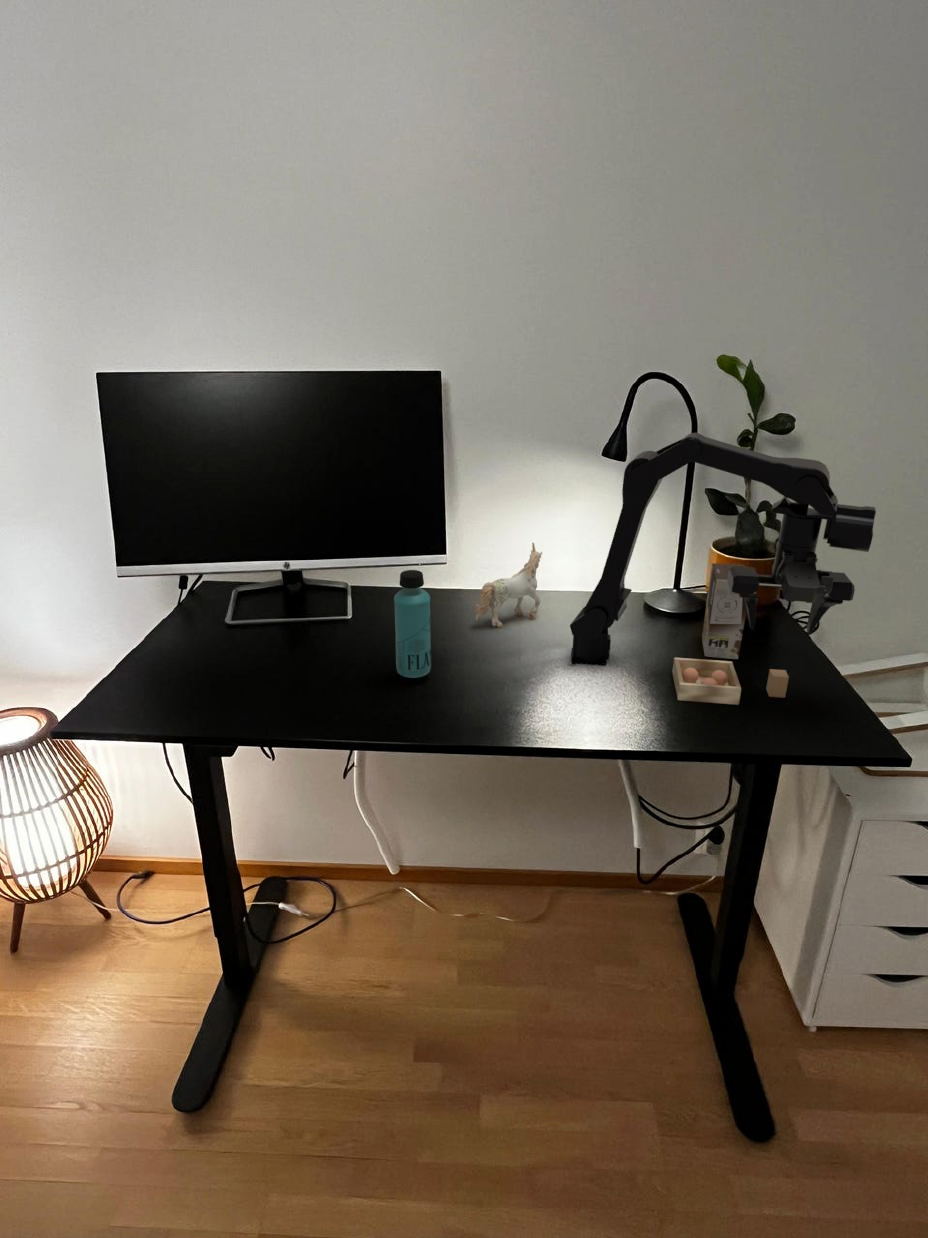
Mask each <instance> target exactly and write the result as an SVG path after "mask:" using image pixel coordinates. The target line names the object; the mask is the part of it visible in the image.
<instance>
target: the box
mask: <svg viewBox="0 0 928 1238" xmlns="http://www.w3.org/2000/svg"><path fill="white" fill-rule="evenodd" d="M687 668H694V669H695V670H697V672H698V675H699V677H698V680H697V681H696V682H695V683H686V682H685V681H684V680H683V677H682V673H683V671H684V670H685V669H687ZM717 670H721V671H724V672H725V673H726V674H727V677H728V680H727V682H726V684H725V685H723V686H722V685H708V684H701V682H702V681H703V680H704V679H706V678H711V675H712V673H713V672H715V671H717ZM672 678H673V682H674V687H675V688H674V689H675V692H676V698H677V701H684V702H698V703H712V704H721V705H722V704H723V705H724V704H725V705H737V706H739V705H740V699H741V695H742V694H741V693H742V687H741V684H740V680H739V677H738V675H737V672H736V670H735V667H734V663H733V661H729V660H717V659H715V660H714V659H701V658H687V657H686V658H684V657H673V666H672Z"/></svg>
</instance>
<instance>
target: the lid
mask: <svg viewBox="0 0 928 1238" xmlns="http://www.w3.org/2000/svg"><path fill="white" fill-rule="evenodd" d="M789 679H790V676H789V674H788V673H787V670H786V669H774V668H772V669H771V668H769V670H768V676H767V683H766V688H765V690H766V692H767V694H768V697H770V698H771V697H772V698H782V699H783V698H786V694H787V691H788V690H787V689H788V684H789Z"/></svg>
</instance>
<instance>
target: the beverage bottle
mask: <svg viewBox="0 0 928 1238" xmlns="http://www.w3.org/2000/svg"><path fill="white" fill-rule="evenodd" d="M424 584H425V581H424V574H423V572H422V571H420V570H417V569H407V570H403V571H402V572H400V575H399V586H400V587H401V589H400V590H399V591H398V592H397V593H396V594H395V595H394V597H393V601H394V619H395V620H394V624H395V626H394V627H395V655H394V657H395V665H396V666H395V667H396V672H397V673H398V674H399V675H400V676H402V677H405V678H411V679H415V678H417V679H418V678H422V677H425V676H426V675H428V674H429V673H430V672H431V668H432V660H433V659H432V647H431V646H432V640H431V639H432V635H431V623H432V614H431V610H432V608H431V604H430V603H431V596H430V594H429V593H428V592H427V591H426V590H425V589H423V588H421V587H423V586H424Z"/></svg>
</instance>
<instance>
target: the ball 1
mask: <svg viewBox="0 0 928 1238" xmlns="http://www.w3.org/2000/svg"><path fill="white" fill-rule="evenodd" d="M682 677H683V680H684V681H685V682H686V683H695V682H696V681H697V680H698V677H699V675H698V672H697V670H695V669H694V668H687V669H685V670H684V671H683V673H682Z"/></svg>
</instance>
